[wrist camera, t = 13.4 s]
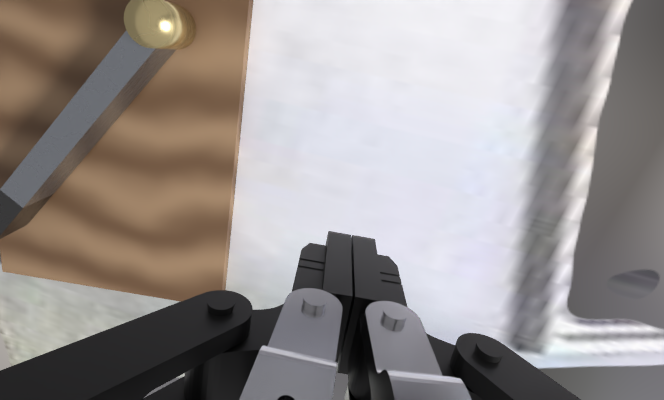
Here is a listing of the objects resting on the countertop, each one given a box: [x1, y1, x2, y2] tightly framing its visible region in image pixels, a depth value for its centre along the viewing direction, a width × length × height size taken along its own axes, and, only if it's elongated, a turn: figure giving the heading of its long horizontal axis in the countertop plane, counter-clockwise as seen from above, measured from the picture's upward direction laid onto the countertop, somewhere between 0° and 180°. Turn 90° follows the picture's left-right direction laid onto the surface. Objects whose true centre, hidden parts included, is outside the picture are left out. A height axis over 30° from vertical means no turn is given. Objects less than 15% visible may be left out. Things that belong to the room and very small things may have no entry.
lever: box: [0, 0, 196, 239], centre depth 35 cm, size 28×4×5 cm, turn 133°
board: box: [0, 0, 253, 301], centre depth 39 cm, size 32×24×2 cm
